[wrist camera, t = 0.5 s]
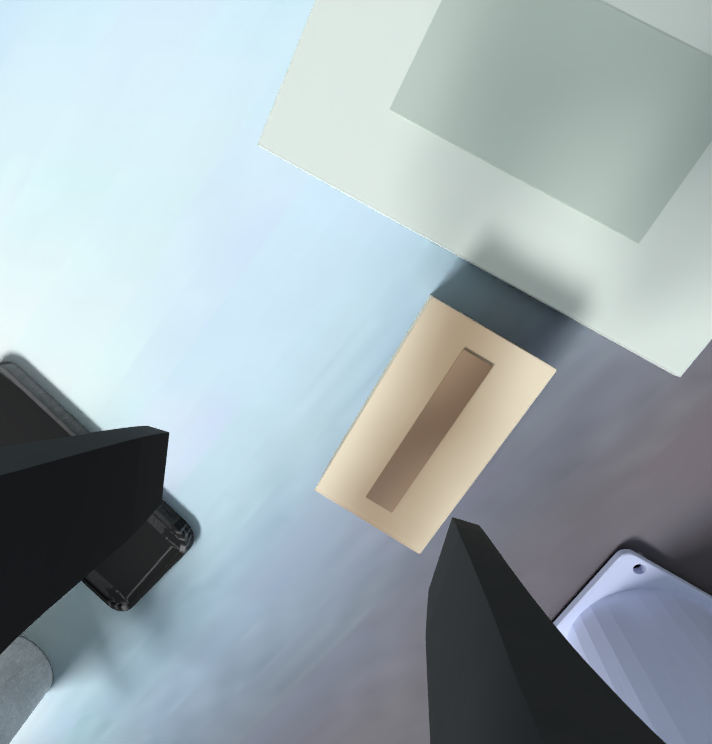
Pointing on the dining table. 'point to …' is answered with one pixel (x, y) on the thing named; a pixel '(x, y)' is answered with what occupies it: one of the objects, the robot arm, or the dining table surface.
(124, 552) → the phone
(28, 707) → the house plant
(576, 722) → the robot arm
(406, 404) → the card box
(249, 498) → the dining table surface
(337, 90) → the mat
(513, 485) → the dining table surface
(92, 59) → the dining table surface
